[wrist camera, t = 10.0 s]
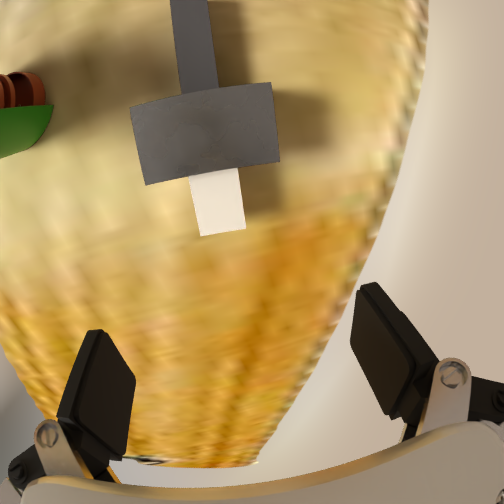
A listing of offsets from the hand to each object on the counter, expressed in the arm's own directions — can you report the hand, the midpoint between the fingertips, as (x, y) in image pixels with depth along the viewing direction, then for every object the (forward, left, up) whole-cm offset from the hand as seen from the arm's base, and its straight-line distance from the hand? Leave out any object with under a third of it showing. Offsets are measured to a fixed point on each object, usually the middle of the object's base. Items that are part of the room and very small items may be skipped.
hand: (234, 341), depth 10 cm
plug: (-8, 0, -19) cm, 21 cm away
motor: (-14, -20, -19) cm, 31 cm away
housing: (-6, 0, -19) cm, 20 cm away
